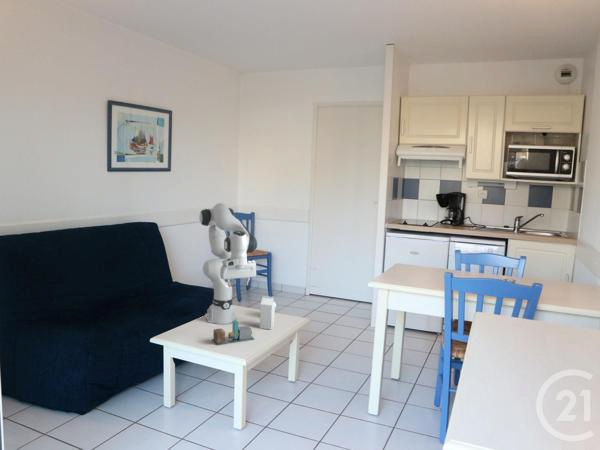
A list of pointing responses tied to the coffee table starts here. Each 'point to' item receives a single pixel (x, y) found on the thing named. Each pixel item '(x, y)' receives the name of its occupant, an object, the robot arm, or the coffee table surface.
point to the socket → (219, 335)
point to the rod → (235, 331)
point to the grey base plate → (243, 336)
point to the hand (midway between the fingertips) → (238, 286)
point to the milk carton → (267, 312)
